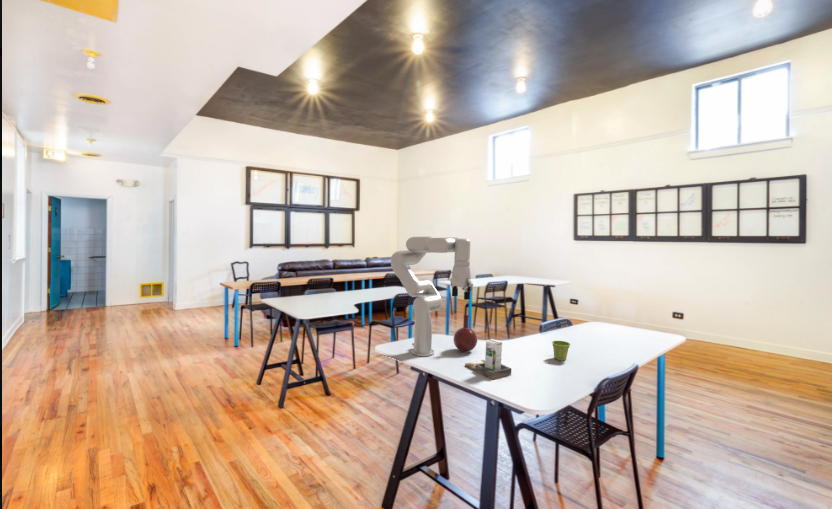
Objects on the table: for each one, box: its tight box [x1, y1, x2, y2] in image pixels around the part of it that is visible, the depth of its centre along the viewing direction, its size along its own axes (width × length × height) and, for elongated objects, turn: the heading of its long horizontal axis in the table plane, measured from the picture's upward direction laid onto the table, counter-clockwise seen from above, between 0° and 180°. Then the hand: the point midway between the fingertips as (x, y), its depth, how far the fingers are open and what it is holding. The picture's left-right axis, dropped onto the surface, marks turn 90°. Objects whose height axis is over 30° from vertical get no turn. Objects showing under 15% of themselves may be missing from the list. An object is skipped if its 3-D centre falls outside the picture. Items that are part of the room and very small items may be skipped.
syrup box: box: [484, 338, 503, 372], centre depth 204 cm, size 6×6×14 cm
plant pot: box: [551, 340, 571, 361], centre depth 228 cm, size 9×9×9 cm
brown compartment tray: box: [464, 359, 512, 380], centre depth 208 cm, size 20×12×3 cm, turn 32°
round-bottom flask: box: [453, 314, 478, 353], centre depth 236 cm, size 13×13×20 cm
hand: (460, 297), depth 212 cm, fingers open, 9 cm apart
